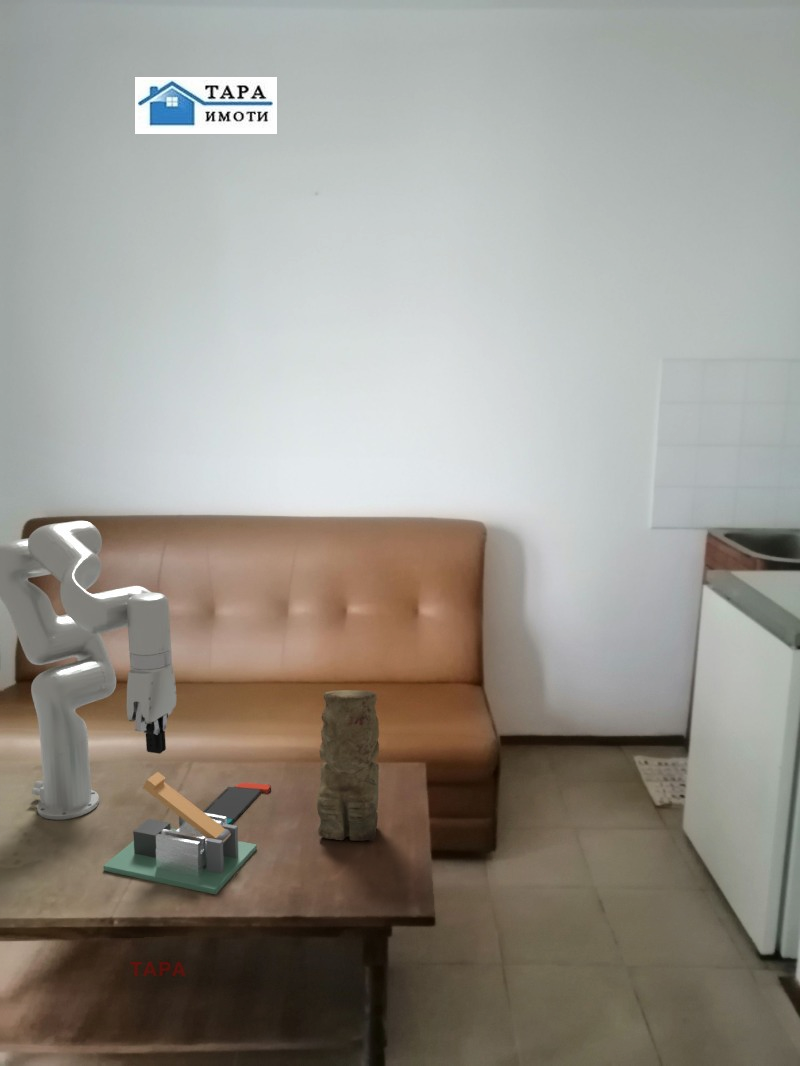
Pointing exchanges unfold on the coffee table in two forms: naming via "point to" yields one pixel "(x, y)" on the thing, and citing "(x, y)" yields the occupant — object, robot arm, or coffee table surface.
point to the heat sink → (184, 848)
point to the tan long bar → (185, 808)
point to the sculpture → (349, 766)
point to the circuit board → (142, 864)
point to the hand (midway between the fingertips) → (156, 750)
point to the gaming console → (236, 800)
